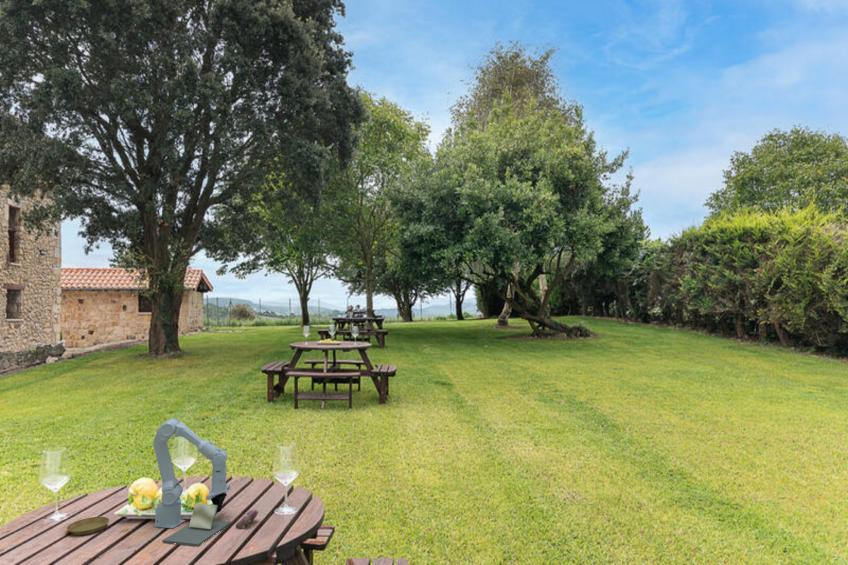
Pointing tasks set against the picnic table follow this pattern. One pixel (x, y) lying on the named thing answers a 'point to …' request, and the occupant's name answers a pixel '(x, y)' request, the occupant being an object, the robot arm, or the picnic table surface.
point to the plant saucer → (88, 525)
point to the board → (196, 534)
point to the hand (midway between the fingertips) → (217, 511)
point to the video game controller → (247, 518)
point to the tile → (203, 516)
